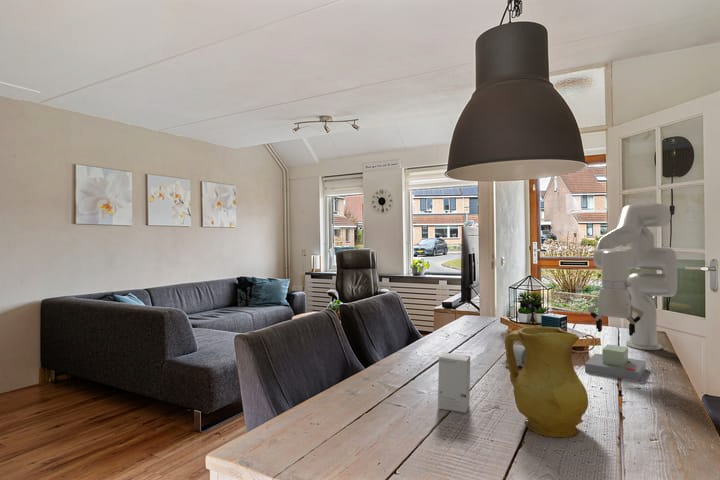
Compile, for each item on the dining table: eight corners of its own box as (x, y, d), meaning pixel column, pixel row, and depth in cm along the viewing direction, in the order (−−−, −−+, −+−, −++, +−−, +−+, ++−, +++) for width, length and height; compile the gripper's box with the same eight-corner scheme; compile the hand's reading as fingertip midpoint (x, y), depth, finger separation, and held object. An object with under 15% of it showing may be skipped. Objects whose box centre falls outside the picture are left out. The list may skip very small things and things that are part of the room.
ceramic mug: (522, 361, 162) (521, 341, 162) (538, 367, 154) (537, 346, 154) (499, 365, 158) (499, 345, 158) (515, 371, 151) (514, 350, 151)
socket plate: (595, 361, 160) (595, 351, 160) (645, 369, 150) (645, 359, 150) (585, 371, 148) (584, 361, 148) (638, 381, 138) (638, 370, 138)
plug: (607, 365, 154) (607, 344, 154) (628, 368, 150) (628, 347, 150) (602, 371, 148) (602, 349, 148) (624, 374, 144) (623, 352, 144)
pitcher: (546, 446, 96) (543, 336, 97) (498, 418, 114) (496, 325, 115) (606, 437, 101) (602, 332, 102) (550, 411, 119) (548, 322, 120)
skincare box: (437, 409, 119) (436, 357, 119) (442, 401, 124) (441, 351, 124) (467, 413, 116) (466, 360, 115) (471, 405, 121) (470, 354, 121)
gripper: (645, 285, 146) (645, 334, 146) (589, 282, 157) (590, 327, 158) (641, 288, 140) (642, 338, 141) (584, 284, 152) (585, 331, 152)
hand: (615, 333), depth 149 cm, fingers open, 9 cm apart
